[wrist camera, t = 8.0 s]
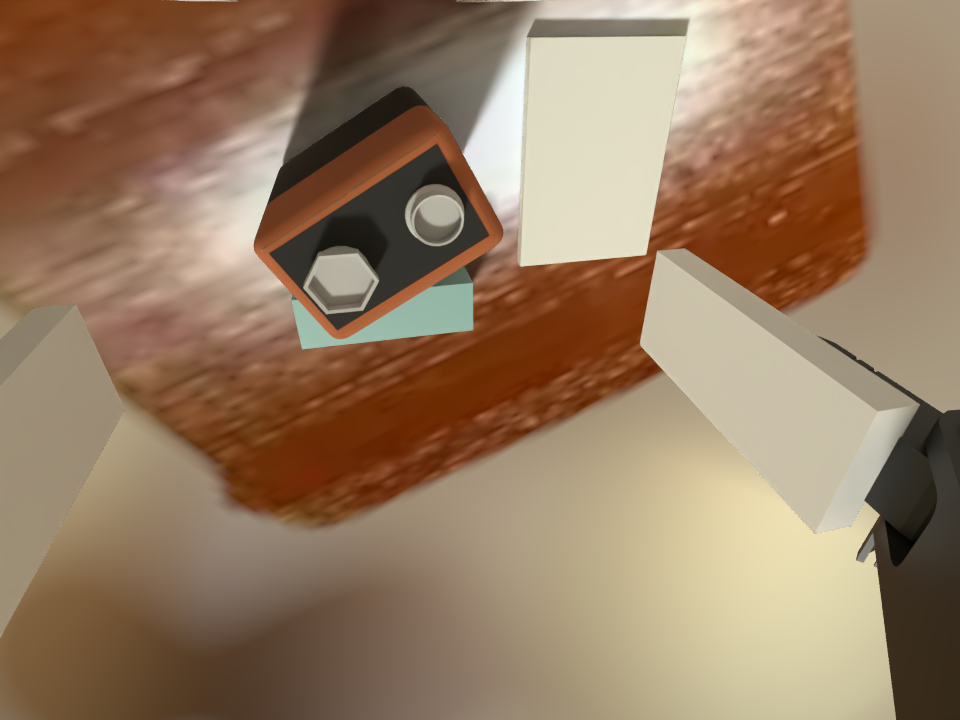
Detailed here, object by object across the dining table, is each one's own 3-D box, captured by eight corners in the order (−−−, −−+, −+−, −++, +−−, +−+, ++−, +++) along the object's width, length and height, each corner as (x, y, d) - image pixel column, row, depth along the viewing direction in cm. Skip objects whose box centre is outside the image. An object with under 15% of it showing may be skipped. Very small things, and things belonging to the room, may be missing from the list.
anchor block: (295, 272, 25) (291, 300, 23) (460, 257, 27) (472, 282, 24) (305, 318, 27) (302, 349, 24) (461, 302, 28) (473, 329, 26)
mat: (526, 37, 22) (531, 37, 22) (679, 35, 23) (686, 36, 23) (517, 261, 28) (520, 266, 27) (640, 250, 29) (646, 254, 28)
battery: (273, 168, 23) (238, 259, 15) (407, 79, 22) (448, 121, 14) (337, 249, 25) (338, 364, 17) (458, 171, 24) (519, 252, 16)
